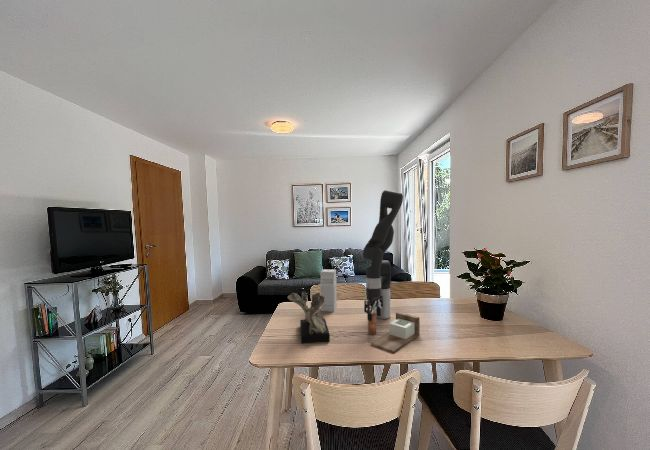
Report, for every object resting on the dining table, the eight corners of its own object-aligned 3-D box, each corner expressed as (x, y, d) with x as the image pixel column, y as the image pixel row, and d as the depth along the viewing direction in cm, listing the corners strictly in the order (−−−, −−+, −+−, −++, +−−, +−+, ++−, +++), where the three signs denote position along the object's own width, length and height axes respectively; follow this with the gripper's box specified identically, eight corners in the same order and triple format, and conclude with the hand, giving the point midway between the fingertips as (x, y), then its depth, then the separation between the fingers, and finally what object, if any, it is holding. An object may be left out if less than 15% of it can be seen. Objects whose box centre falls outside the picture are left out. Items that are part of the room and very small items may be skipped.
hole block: (389, 334, 140) (389, 323, 140) (398, 328, 146) (398, 318, 146) (405, 339, 133) (405, 328, 133) (414, 333, 140) (414, 322, 140)
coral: (330, 345, 132) (329, 299, 131) (286, 347, 130) (285, 301, 129) (326, 324, 156) (325, 286, 156) (289, 326, 155) (288, 287, 154)
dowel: (366, 333, 144) (366, 313, 144) (371, 330, 147) (370, 311, 147) (373, 335, 141) (372, 315, 141) (377, 333, 144) (377, 313, 144)
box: (336, 307, 186) (336, 269, 185) (334, 311, 177) (333, 272, 177) (324, 306, 187) (323, 269, 187) (321, 310, 179) (320, 271, 178)
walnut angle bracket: (370, 345, 131) (370, 325, 131) (397, 328, 149) (397, 311, 149) (393, 353, 123) (393, 332, 122) (419, 335, 141) (419, 317, 140)
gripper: (374, 282, 151) (375, 313, 151) (359, 288, 140) (360, 320, 140) (387, 284, 146) (387, 316, 146) (372, 290, 135) (373, 324, 135)
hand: (374, 318), depth 143 cm, fingers open, 8 cm apart
